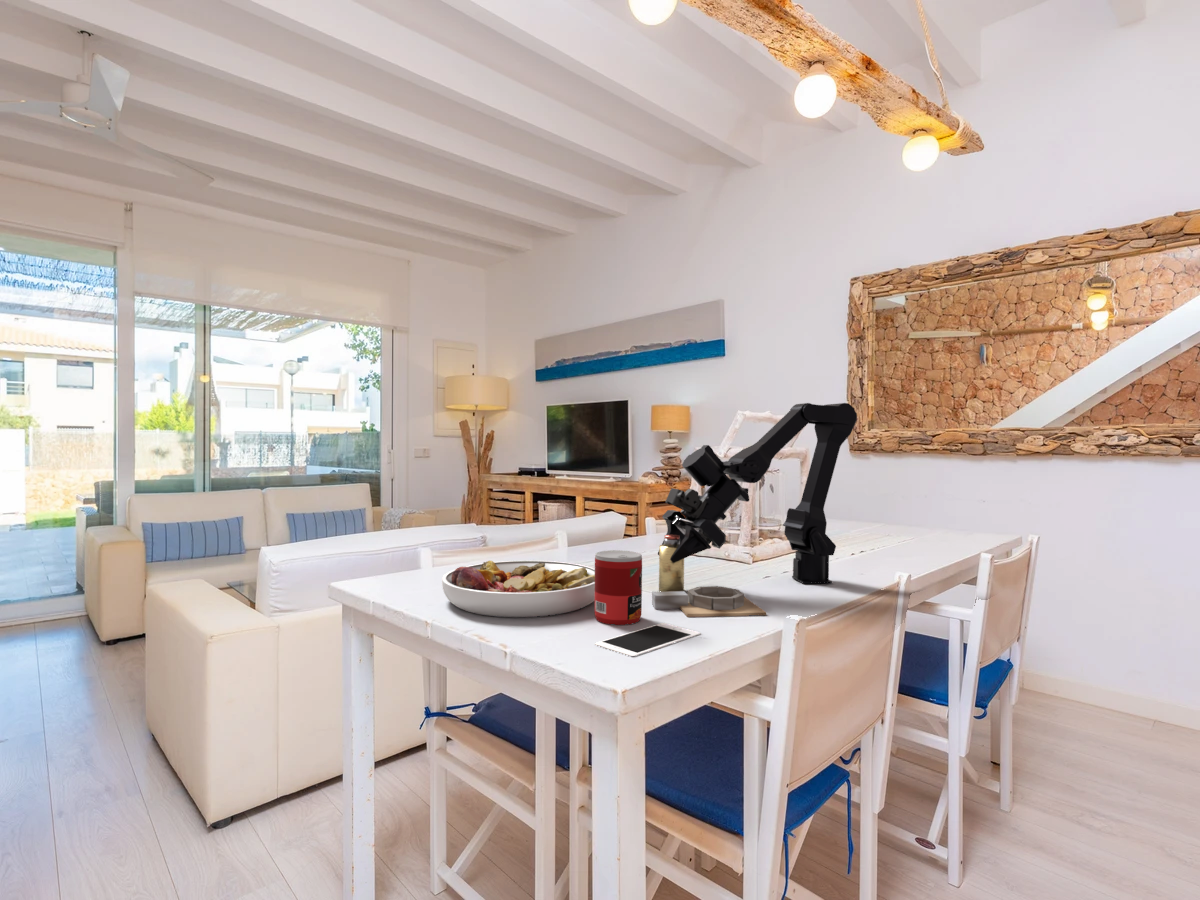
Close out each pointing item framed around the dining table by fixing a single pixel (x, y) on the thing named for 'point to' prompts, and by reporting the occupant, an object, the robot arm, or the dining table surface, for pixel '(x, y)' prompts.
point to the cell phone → (647, 639)
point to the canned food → (618, 587)
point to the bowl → (520, 588)
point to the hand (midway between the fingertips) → (665, 558)
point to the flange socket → (707, 602)
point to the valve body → (670, 566)
